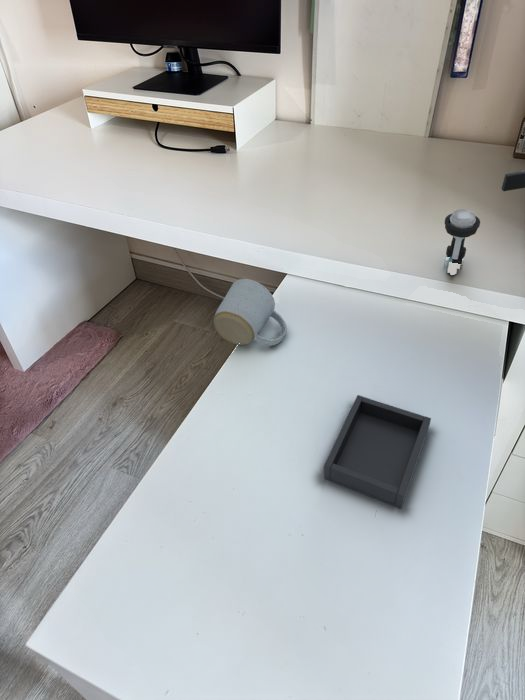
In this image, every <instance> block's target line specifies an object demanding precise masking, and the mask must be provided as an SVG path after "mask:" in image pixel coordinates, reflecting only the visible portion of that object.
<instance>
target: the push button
mask: <svg viewBox="0 0 525 700" xmlns="http://www.w3.org/2000/svg"><path fill="white" fill-rule="evenodd" d="M444 225H445V226H444V228H445V229H444V230H445V231H446V233H447V234H448V235H450V236H452V239H451V242H450V245H449V244H448V245H447V247H446V249H445V250H446V251H445V256H447V257H450V258H449V260H448V262H452V263H458V264H462V259H463V258H465V256H466V253H467V248H466V246H465V240H466V238H469V237H471V236H473V235H475V234H476V233H477V231H478V230H479V228H480V227H481V226H480V225H481V220H480V218H479V216H476V213H474V212H473V211H472V210H468V209H457V210H455V211H453V212H452V213H449V214H448V215H446V217H445V218H444Z"/></svg>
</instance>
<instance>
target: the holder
mask: <svg viewBox="0 0 525 700" xmlns="http://www.w3.org/2000/svg"><path fill="white" fill-rule="evenodd" d="M431 420H432V417H429V416H424V415H422V414H419V413H416V412H413V411H409V410H406V409H403V408H400V407H397V406H393V405H390V404H387V403H385V402H381V401H378V400H375V399H371V398H368V397H365V396H362V395H359V394H357V395H356V397H355V400H354V402H353V404H352V405H351V408H350V410H349V413H348V414H347V417H346V419H345V421H344V423H343V425H342V426H341V429H340V431H339V433H338V435H337V437H336V440H335V442H334V444H333V446H332V448H331V450H330V452H329V454H328V456H327V459H326V461H325V462H324V465H323V477H324V478H323V479H325V480H327V481H330V482H332V483H334V484H338V485H340V486H342V487H345V488H347V489H350V490H352V491H354V492H358V493H360V494H363V495H365V496H368V497H371V498H372V499H375V500H378V501H380V502H382V503H386V504H388V505H391V506H393V507H396V508H398V509H402V508H403V505H404V503H405V500H406V497H407V494H408V491H409V488H410V485H411V483H412V479H413V477H414V474H415V471H416V468H417V464H418V461H419V459H420V457H421V453H422V450H423V448H424V444H425V442H426V440H427V439H426V438H427V436H428V433H429V429H430V424H431Z"/></svg>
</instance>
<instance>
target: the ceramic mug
mask: <svg viewBox="0 0 525 700" xmlns="http://www.w3.org/2000/svg"><path fill="white" fill-rule="evenodd" d="M275 308H276V301H275V298H274V296H273V294H272V293H271V291H269V289H267V288H266V286H265V285H263V284H261V283H259V282H258V281H255V280H252V279H249V278H240V279H237V280H235V281H234V282H233V283H232V284H231V286H230V288H229V289H228V292H226V294H225V296H224V298H223V299H222V301H221V303H220V304H219V306H218V307H217V309H216V312H215V315H214V316H213V326H214V329H215V331H216V333H217V334H218V335H219V336H220V337H221V338H222V339H223V340H225V341H226V342H228V343H230V344H233V345H238V346H244V345H248V344H250V343H252V342H253V341H255V342H257V343H258V344H260V345H264V346H269V347H271V346H276V345H278V344H280V343H281V342H282V341H283V339H284V338H285V335H286V334H287V330H288V328H287V323H286V321H285V319H284V318H283V316H281V315H280V314H279V313H278V312H277V311H276V310H275ZM270 317H271V318H272V319H274V320H275V322H277V324H279V326H280V328H281V332H280V334H279V335H278V336H276V337H275V338H273V339H269V338H266V337H263V336H261V335H259V334H260V332H261V331H262V329H263V328H264V326H265V324H266V323H267V321H269V319H270ZM239 343H240V344H239Z"/></svg>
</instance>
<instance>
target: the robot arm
mask: <svg viewBox="0 0 525 700" xmlns="http://www.w3.org/2000/svg"><path fill="white" fill-rule="evenodd" d="M520 189H521V190H522V189H525V170H522V171H516V172H512V173H506V174H504V177H503V181H502V185H501V191H502V192H508V191H513V190H514V191H515V190H520Z"/></svg>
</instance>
